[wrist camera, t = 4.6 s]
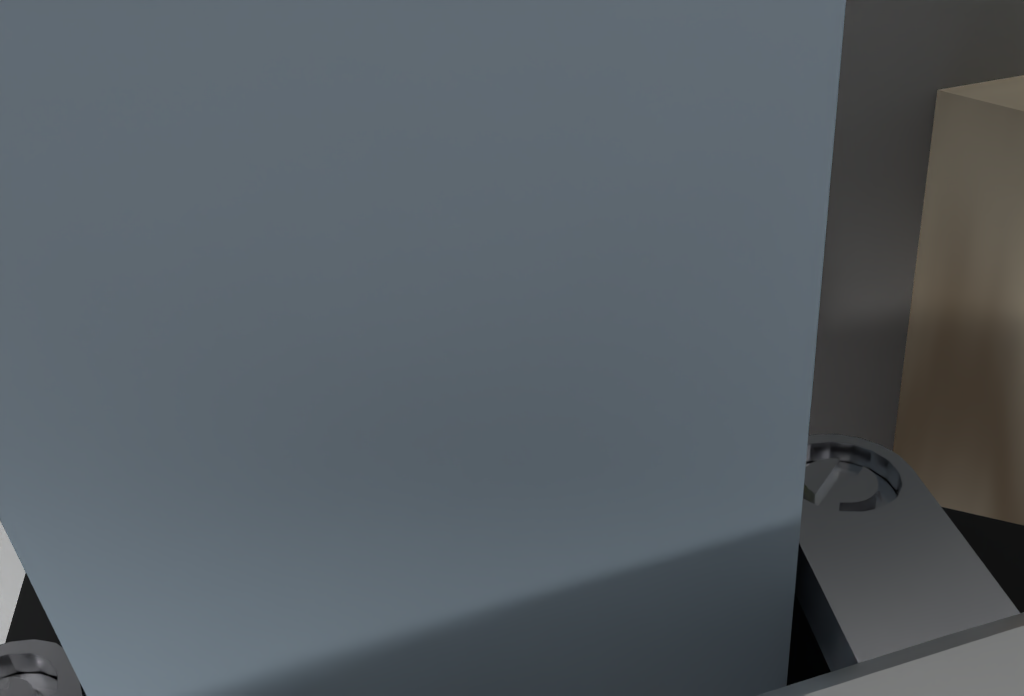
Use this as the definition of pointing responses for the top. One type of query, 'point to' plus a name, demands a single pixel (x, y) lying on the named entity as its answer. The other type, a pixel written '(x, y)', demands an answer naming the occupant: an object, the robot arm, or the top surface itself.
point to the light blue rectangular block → (413, 339)
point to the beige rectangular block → (969, 308)
